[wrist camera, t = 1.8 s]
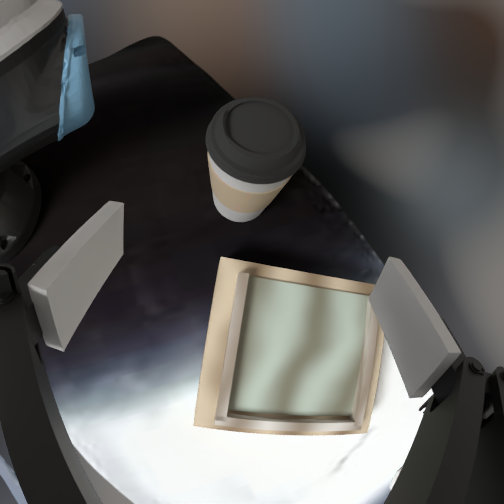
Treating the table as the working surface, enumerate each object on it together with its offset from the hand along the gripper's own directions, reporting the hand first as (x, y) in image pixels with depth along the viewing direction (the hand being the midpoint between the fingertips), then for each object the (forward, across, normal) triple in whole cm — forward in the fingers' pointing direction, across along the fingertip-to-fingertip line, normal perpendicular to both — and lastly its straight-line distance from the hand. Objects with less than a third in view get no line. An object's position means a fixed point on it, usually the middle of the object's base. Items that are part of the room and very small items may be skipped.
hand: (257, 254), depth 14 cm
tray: (+11, +8, -19) cm, 23 cm away
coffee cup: (+24, 0, -6) cm, 25 cm away
